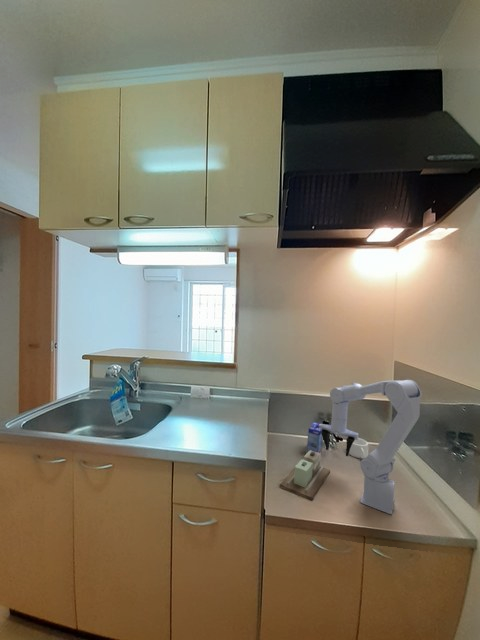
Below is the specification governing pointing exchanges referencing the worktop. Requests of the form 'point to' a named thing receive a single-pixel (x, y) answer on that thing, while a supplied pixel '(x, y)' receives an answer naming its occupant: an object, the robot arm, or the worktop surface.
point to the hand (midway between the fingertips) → (337, 452)
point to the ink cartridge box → (314, 438)
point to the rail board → (314, 485)
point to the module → (303, 473)
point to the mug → (359, 449)
